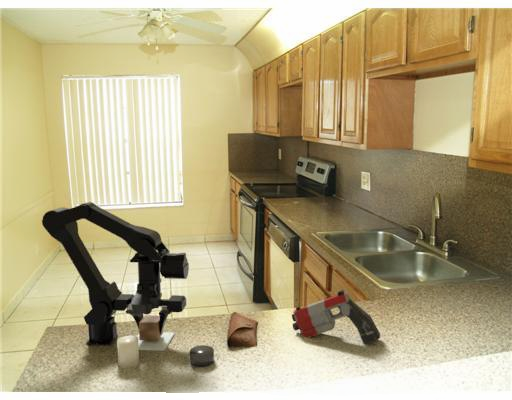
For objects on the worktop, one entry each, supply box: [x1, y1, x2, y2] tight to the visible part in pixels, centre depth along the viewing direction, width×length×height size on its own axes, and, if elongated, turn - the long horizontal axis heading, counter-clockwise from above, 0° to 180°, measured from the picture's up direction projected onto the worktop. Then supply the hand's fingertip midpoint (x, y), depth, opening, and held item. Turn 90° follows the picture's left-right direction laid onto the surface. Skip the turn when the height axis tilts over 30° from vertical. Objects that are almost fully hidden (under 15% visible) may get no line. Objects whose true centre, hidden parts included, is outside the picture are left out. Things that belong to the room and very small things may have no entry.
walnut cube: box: [138, 314, 164, 341], centre depth 122 cm, size 5×5×5 cm
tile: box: [135, 331, 176, 352], centre depth 122 cm, size 10×10×1 cm
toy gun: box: [291, 289, 381, 345], centre depth 124 cm, size 5×22×15 cm, turn 73°
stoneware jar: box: [116, 335, 140, 369], centre depth 110 cm, size 5×5×6 cm
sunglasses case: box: [226, 311, 258, 349], centre depth 127 cm, size 18×7×7 cm
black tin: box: [189, 344, 215, 369], centre depth 111 cm, size 6×6×3 cm
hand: (151, 333), depth 122 cm, fingers closed on walnut cube, 5 cm apart
